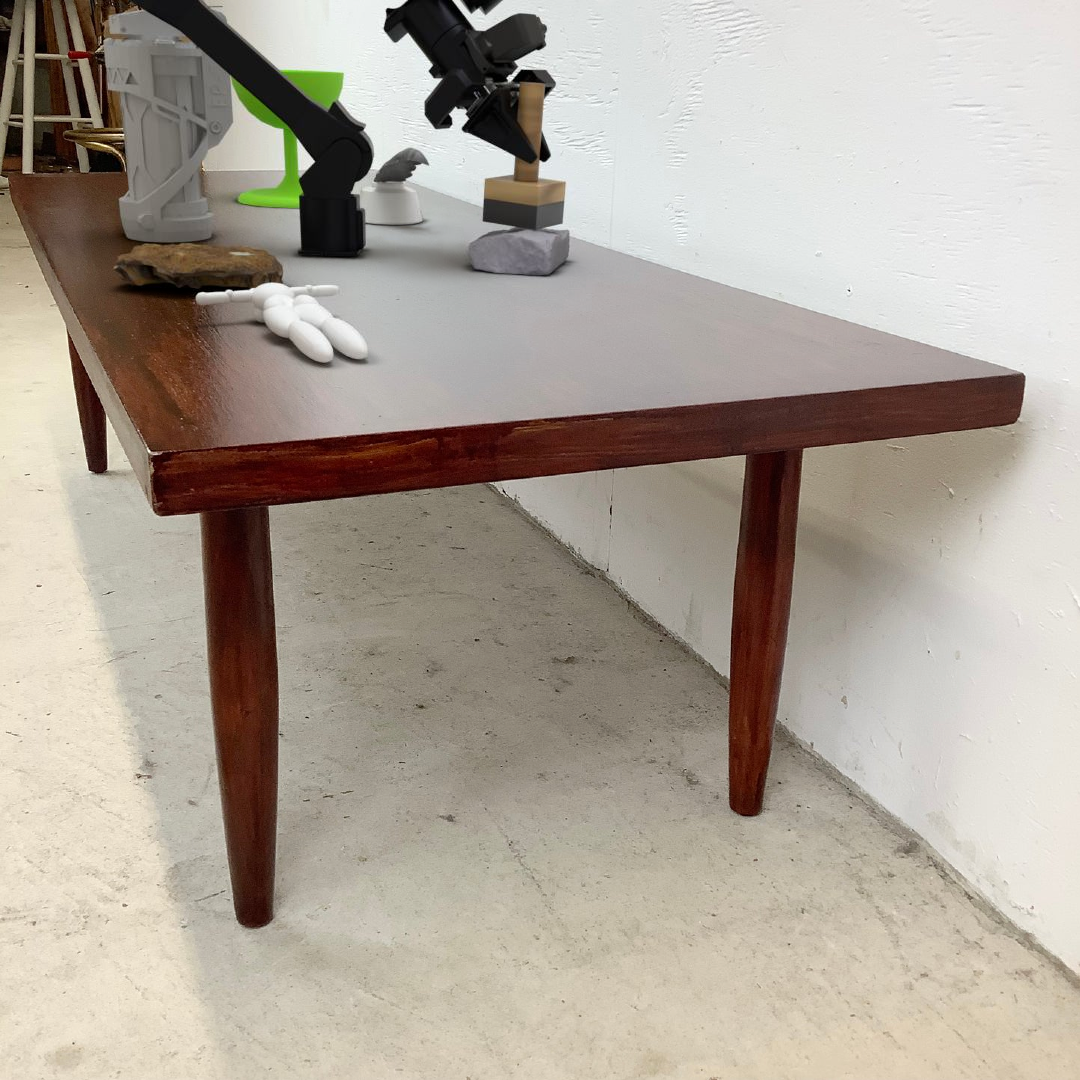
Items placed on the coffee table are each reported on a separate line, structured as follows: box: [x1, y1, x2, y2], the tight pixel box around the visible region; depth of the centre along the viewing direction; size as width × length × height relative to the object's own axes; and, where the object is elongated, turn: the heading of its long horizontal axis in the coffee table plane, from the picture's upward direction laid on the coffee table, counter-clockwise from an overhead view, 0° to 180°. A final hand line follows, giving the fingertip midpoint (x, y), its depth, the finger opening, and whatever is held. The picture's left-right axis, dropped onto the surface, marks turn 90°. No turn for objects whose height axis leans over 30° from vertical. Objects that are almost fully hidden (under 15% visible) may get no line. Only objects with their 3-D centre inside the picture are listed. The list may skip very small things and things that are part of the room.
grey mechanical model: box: [103, 5, 234, 243], centre depth 132 cm, size 13×10×25 cm
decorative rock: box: [113, 242, 284, 290], centre depth 107 cm, size 11×4×15 cm
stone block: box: [467, 226, 571, 276], centre depth 126 cm, size 12×5×10 cm
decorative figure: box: [195, 283, 369, 364], centre depth 90 cm, size 4×12×18 cm
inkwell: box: [359, 147, 430, 226], centre depth 151 cm, size 9×18×10 cm, turn 32°
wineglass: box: [230, 69, 345, 209], centre depth 169 cm, size 16×16×18 cm
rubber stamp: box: [482, 82, 567, 230], centre depth 121 cm, size 6×6×14 cm
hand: (541, 160), depth 121 cm, fingers closed on rubber stamp, 2 cm apart
